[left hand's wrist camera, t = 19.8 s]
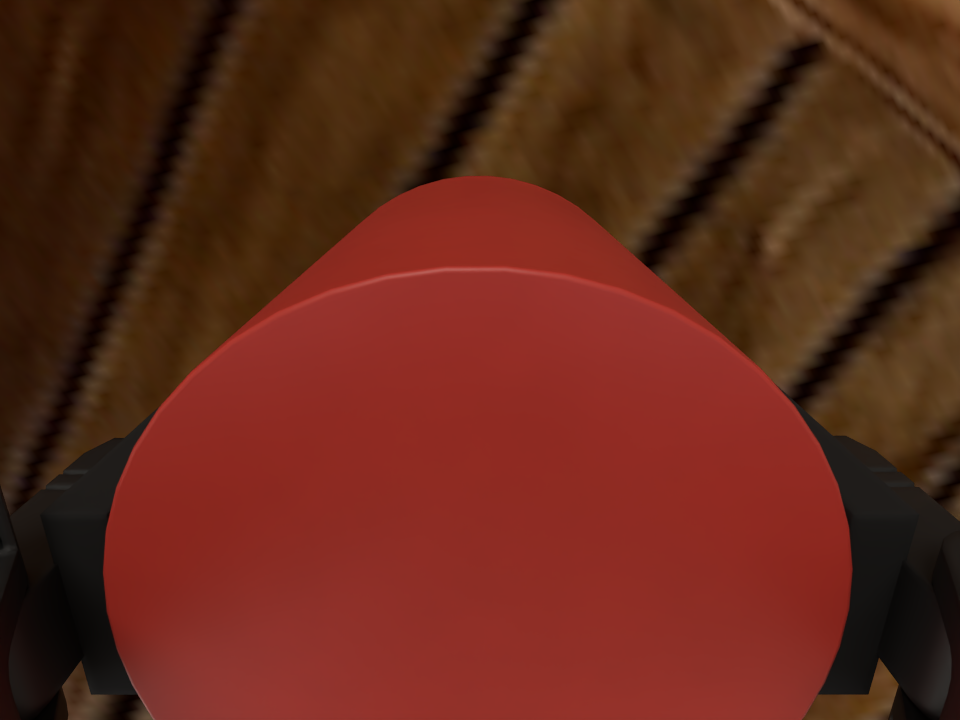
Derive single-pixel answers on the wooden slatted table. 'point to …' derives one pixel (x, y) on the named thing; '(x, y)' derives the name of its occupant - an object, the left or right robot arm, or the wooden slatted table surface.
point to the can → (477, 493)
